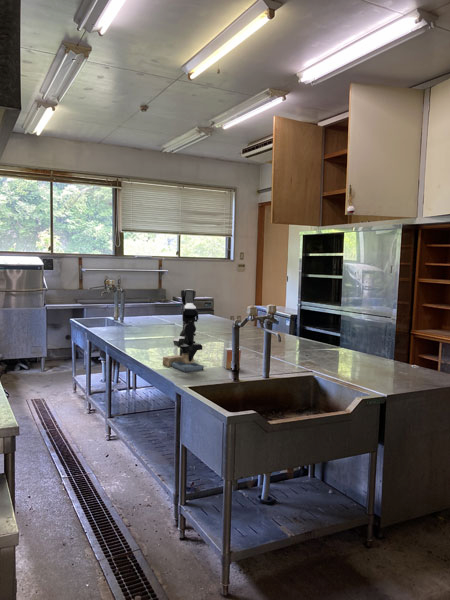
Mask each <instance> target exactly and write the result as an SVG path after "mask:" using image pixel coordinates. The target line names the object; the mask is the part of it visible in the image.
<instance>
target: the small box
mask: <svg viewBox="0 0 450 600" xmlns="http://www.w3.org/2000/svg"><path fill="white" fill-rule="evenodd" d="M232 348H233V347H224V349H223V350H224V352H223V364H222V365H223V368H225V369H227V370H228V369H231V361H232ZM241 355H242V349H240V348H239V367H240V368H241V358H242V357H241ZM231 370H232V369H231Z"/></svg>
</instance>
